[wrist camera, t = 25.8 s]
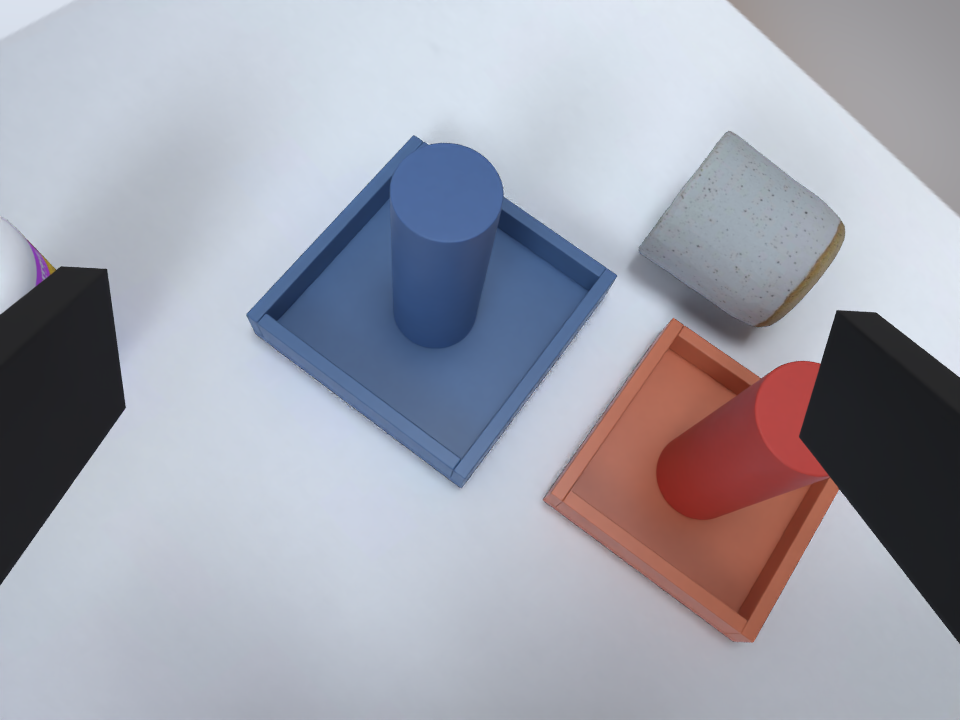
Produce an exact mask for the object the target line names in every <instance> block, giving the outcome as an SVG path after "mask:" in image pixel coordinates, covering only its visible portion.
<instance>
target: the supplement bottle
mask: <svg viewBox="0 0 960 720" xmlns="http://www.w3.org/2000/svg"><path fill="white" fill-rule="evenodd" d="M55 271H56V269H55V268H54V267H53V266H52V265H51V264H50V263H49V262H48V261H47V260H46V259H45V258H44V257H43V256H42V255H41V253H40V252H39V251H38V250H37V249H36V248H35V247H34V246H33V245H32V244H31V243H30V242H29V241H28V240H27V239H26V238H25V237H24V236H23V235H22V233H21V232H20V231H19V230H17V229H16V228H15V227H14V226H13V225H12V224H11V223H10V222H9V221H8V220H6V219H5V218H3V217H2V216H0V314H2V313H3V312H4V311H5V310H7V309H8V308H9V307H10V306H12V305H13V304H14V303H15V302H17V301H18V300H19V299H20V298H22V297H23V296H24V295H26V294H27V293H28V292H29V291H31V290H32V289H33V288H34V287H36V286H37V285H38V284H39V283H41V282H42V281H43V280H44V279H46V278H47V277H48V276H49V275H51V274H52V273H53V272H55Z"/></svg>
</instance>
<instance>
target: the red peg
mask: <svg viewBox="0 0 960 720" xmlns="http://www.w3.org/2000/svg"><path fill="white" fill-rule="evenodd" d="M819 368H820V363H815V362H810V361H795V362H790V363H787V364H784V365H781V366H779V367H777V368H776V369H774V370H773V371H771V372H770V373H768V374H767V375H766V376H764V377H763V378H761V379H760V380H758V381H757V382H755V383H754V384H753V385H751V386H750V387H748V388H747V389H745V390H744V391H743V392H741V393H740V394H738V395H737V396H735V397H734V398H733V399H731V400H730V401H728V402H727V403H725V404H724V405H723V406H721V407H720V408H718V409H717V410H715V411H714V412H712V413H711V414H710V415H708V416H707V417H705V418H704V419H702V420H701V421H700V422H698V423H697V424H695V425H694V426H692V427H691V428H690V429H688V430H687V431H685V432H684V433H682V434H681V435H680V436H678V437H677V438H675V439H674V440H672V441H671V442H670V443H669V444H668V445H667V446H666V447H665V448H664V449H663V451H662V452H661V454H660V456H659V459H658V463H657V469H656V476H657V482H658V486H659V489H660V491H661V493H662V495H663V497H664V498H665V500H666V501H667V502H668V504H669V505H670V506H671V507H672V508H674V509H675V510H676V511H677V512H679V513H680V514H682V515H684V516H686V517H689V518H692V519H697V520H709V519H713V518H717V517H719V516H722V515H725V514H728V513H731V512H734V511H736V510H739V509H742V508H745V507H748V506H751V505H753V504H756V503H759V502H762V501H765V500H768V499H770V498H773V497H776V496H779V495H782V494H784V493H787V492H790V491H793V490H796V489H799V488H801V487H804V486H807V485H810V484H813V483H816V482H818V481H821V480H824V479H827V478H830V476H829V475H828V474H827V473H826V471H825V470H824V469H823V467H822V466H821V465H820V464H819V462H818V461H817V460H816V458H815V457H814V456H813V455H812V453H811V452H810V451H809V449H808V448H807V447H806V446H805V444H804V443H803V442H802V440H801V439H800V438H799V434H800V431H801V428H802V424H803V421H804V418H805V414H806V411H807V408H808V404H809V401H810V398H811V394H812V391H813V388H814V384H815V381H816V378H817V374H818V371H819Z"/></svg>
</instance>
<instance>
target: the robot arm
mask: <svg viewBox="0 0 960 720" xmlns="http://www.w3.org/2000/svg"><path fill="white" fill-rule="evenodd" d="M125 408H126V406H125V399H124V391H123V384H122V377H121V369H120V362H119V354H118V347H117V339H116V332H115V325H114V317H113V310H112V302H111V295H110V287H109V280H108V273H107V269H98V268H80V267H62V266H61V267H60V268H58V269H57V270H56V271H55V272H53V273H52V274H51V275H49V276H48V277H47V278H46V279H44V280H43V281H42V282H41V283H39V284H38V285H37V286H36V287H34V288H33V289H32V290H31V291H29V292H28V293H27V294H26V295H24V296H23V297H22V298H20V299H19V300H18V301H17V302H15V303H14V304H13V305H12V306H10V307H9V308H8V309H7V310H5V311H4V312H3V313H2V314H0V585H1V584H2V582H3V581H4V579H5V578H6V576H7V575H8V574H9V572H10V571H11V569H12V568H13V567H14V565H15V564H16V562H17V561H18V559H19V558H20V557H21V555H22V554H23V552H24V551H25V550H26V548H27V547H28V545H29V544H30V543H31V541H32V540H33V538H34V537H35V535H36V534H37V533H38V531H39V530H40V528H41V527H42V526H43V524H44V523H45V521H46V520H47V518H48V517H49V516H50V514H51V513H52V511H53V510H54V509H55V507H56V506H57V504H58V503H59V502H60V500H61V499H62V497H63V496H64V494H65V493H66V492H67V490H68V489H69V487H70V486H71V485H72V483H73V482H74V480H75V479H76V477H77V476H78V475H79V473H80V472H81V470H82V469H83V468H84V466H85V465H86V463H87V462H88V460H89V459H90V458H91V456H92V455H93V453H94V452H95V451H96V449H97V448H98V446H99V445H100V444H101V442H102V441H103V439H104V438H105V436H106V435H107V434H108V432H109V431H110V429H111V428H112V427H113V425H114V424H115V422H116V421H117V419H118V418H119V417H120V415H121V414H122V412H123V411H124V410H125ZM799 438H800V439H801V440H802V442H803V443H804V444H805V446H806V447H807V448H808V449H809V451H810V452H811V453H812V455H813V456H814V457H815V458H816V460H817V461H818V462H819V464H820V465H821V466H822V467H823V469H824V470H825V471H826V473H827V474H828V475H829V476H830V478H831V479H832V480H833V482H834V483H835V484H836V485H837V487H838V488H839V489H840V491H841V492H842V493H843V494H844V496H845V497H846V498H847V500H848V501H849V502H850V503H851V505H852V506H853V507H854V509H855V510H856V511H857V512H858V514H859V515H860V516H861V518H862V519H863V520H864V521H865V523H866V524H867V525H868V527H869V528H870V529H871V530H872V532H873V533H874V534H875V536H876V537H877V538H878V539H879V541H880V542H881V543H882V545H883V546H884V547H885V548H886V550H887V551H888V552H889V554H890V555H891V556H892V557H893V559H894V560H895V561H896V563H897V564H898V565H899V566H900V568H901V569H902V570H903V572H904V573H905V574H906V575H907V577H908V578H909V579H910V581H911V582H912V583H913V584H914V586H915V587H916V588H917V590H918V591H919V592H920V593H921V595H922V596H923V597H924V599H925V600H926V601H927V602H928V604H929V605H930V606H931V608H932V609H933V610H934V611H935V613H936V614H937V615H938V617H939V618H940V619H941V620H942V622H943V623H944V624H945V626H946V627H947V628H948V629H949V631H950V632H951V633H952V635H953V636H954V637H955V638H956V640H957V641H958V642H959V644H960V377H958V376H957V375H956V374H954V373H953V372H952V371H951V370H949V369H948V368H947V367H945V366H944V365H943V364H942V363H940V362H939V361H938V360H936V359H935V358H934V357H933V356H931V355H930V354H929V353H927V352H926V351H925V350H924V349H922V348H921V347H920V346H918V345H917V344H916V343H915V342H913V341H912V340H911V339H909V338H908V337H907V336H906V335H904V334H903V333H902V332H900V331H899V330H898V329H897V328H895V327H894V326H893V325H891V324H890V323H889V322H888V321H886V320H885V319H884V318H882V317H881V316H880V315H879V314H877V313H876V312H858V311H840V310H837V311H836V314H835V318H834V321H833V324H832V328H831V331H830V334H829V338H828V341H827V344H826V348H825V351H824V354H823V358H822V361H821V364H820V368H819V371H818V374H817V378H816V381H815V384H814V388H813V391H812V394H811V398H810V401H809V404H808V408H807V411H806V414H805V418H804V421H803V424H802V428H801V431H800V434H799Z"/></svg>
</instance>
